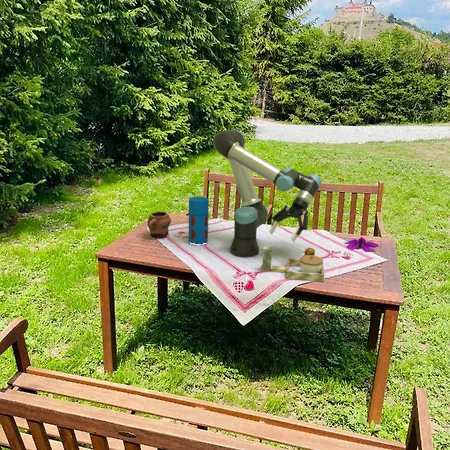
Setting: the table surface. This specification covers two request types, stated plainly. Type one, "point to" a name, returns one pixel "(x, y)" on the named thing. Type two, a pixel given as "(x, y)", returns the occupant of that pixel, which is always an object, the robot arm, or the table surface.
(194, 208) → the thermos
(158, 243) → the table surface
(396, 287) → the table surface
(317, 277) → the pull frame
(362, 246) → the cloth
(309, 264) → the lidded jar
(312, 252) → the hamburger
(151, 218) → the decorative planter
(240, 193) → the robot arm
